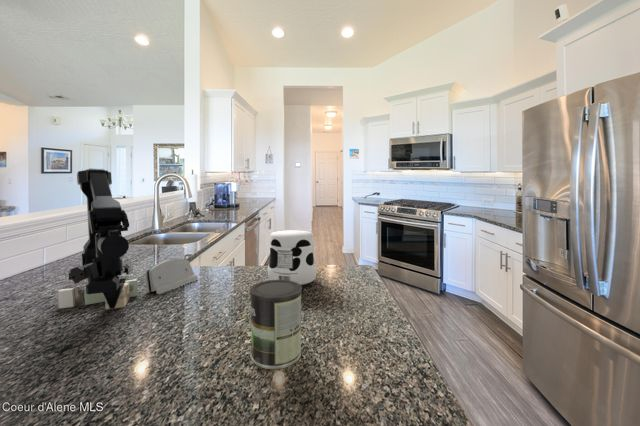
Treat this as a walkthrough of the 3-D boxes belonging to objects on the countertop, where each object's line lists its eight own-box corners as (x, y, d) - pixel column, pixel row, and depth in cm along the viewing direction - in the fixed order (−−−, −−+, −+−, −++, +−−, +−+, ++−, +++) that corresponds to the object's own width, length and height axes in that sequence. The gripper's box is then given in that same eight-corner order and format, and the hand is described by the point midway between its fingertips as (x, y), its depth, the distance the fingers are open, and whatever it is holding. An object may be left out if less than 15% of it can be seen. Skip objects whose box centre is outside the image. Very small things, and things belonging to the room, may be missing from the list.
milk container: (305, 273, 117) (305, 228, 115) (324, 286, 101) (324, 235, 100) (262, 279, 109) (261, 231, 108) (276, 294, 94) (275, 239, 92)
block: (112, 300, 88) (111, 284, 88) (129, 298, 90) (128, 282, 90) (105, 309, 82) (104, 292, 81) (124, 306, 84) (123, 289, 83)
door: (85, 303, 86) (84, 286, 86) (137, 294, 93) (136, 279, 93) (84, 306, 84) (83, 289, 84) (137, 296, 91) (137, 281, 91)
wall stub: (61, 306, 84) (60, 289, 83) (75, 304, 85) (74, 287, 85) (59, 308, 82) (57, 291, 82) (73, 306, 84) (72, 289, 83)
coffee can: (247, 371, 55) (245, 297, 53) (254, 342, 65) (253, 280, 64) (302, 368, 55) (302, 296, 54) (301, 340, 66) (301, 278, 64)
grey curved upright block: (157, 295, 93) (148, 264, 94) (148, 297, 95) (139, 268, 96) (199, 280, 108) (191, 254, 109) (190, 282, 110) (183, 257, 111)
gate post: (76, 304, 85) (75, 286, 85) (84, 303, 86) (82, 285, 86) (74, 306, 84) (72, 288, 83) (81, 305, 84) (80, 287, 84)
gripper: (84, 248, 85) (87, 300, 86) (56, 262, 67) (61, 328, 69) (129, 245, 89) (132, 295, 90) (114, 258, 72) (117, 319, 73)
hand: (112, 307), depth 80 cm, fingers closed
